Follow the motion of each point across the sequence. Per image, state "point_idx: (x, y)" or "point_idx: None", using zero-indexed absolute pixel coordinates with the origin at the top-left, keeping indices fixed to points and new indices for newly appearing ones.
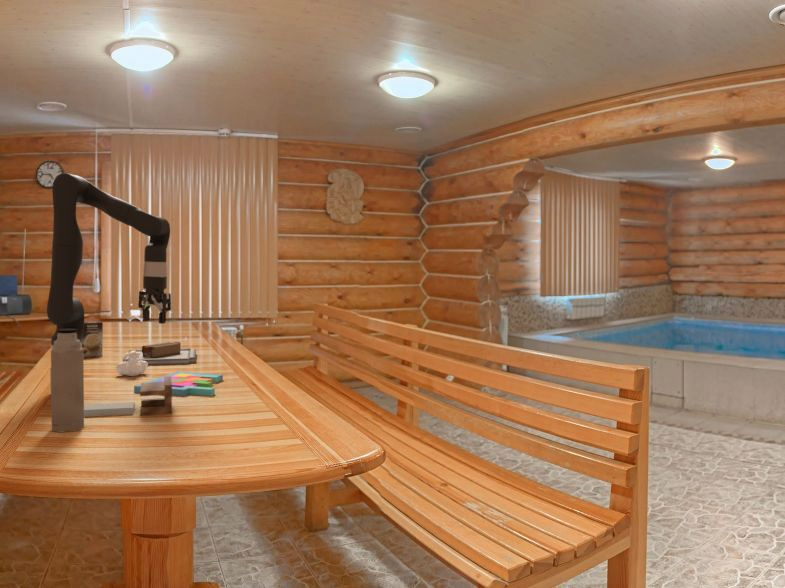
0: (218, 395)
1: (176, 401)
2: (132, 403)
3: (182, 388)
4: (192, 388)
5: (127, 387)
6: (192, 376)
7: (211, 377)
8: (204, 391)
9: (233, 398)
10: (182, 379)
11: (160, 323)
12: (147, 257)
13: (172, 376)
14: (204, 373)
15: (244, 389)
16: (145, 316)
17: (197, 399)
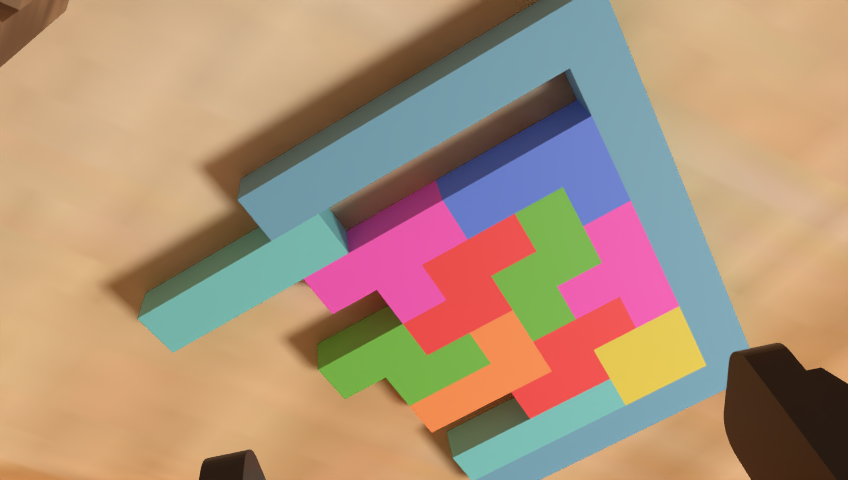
0: (136, 330)
1: (115, 72)
2: None
3: (283, 205)
4: (248, 253)
5: (754, 6)
6: (573, 381)
7: (476, 443)
8: (176, 287)
9: (7, 358)
10: (541, 311)
11: (213, 457)
12: None
13: (667, 302)
14: (593, 452)
15: None
16: (783, 438)
17: (97, 199)
